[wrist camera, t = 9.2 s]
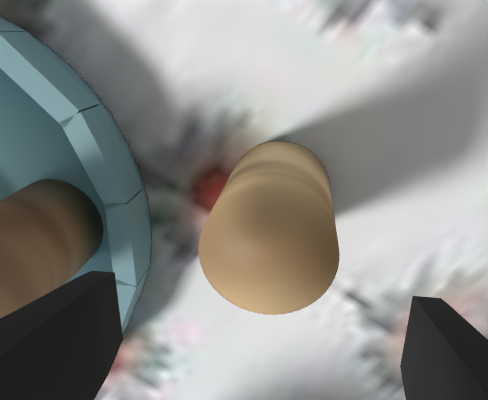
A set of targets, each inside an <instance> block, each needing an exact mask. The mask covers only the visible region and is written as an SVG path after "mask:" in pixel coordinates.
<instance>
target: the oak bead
mask: <svg viewBox="0 0 488 400" xmlns="http://www.w3.org/2000/svg"><path fill="white" fill-rule="evenodd" d="M199 259H200V263H201V267H202V269H203V272H204V274H205V276H206V278H207V279H208V281H209V283H210V284H211V285H212V287H213V288H214V289H215V290H216V291H217V292H218V293H219V294H220V295H221V296H222V297H224V298H225V299H226V300H228V301H229V302H231V303H232V304H234V305H236V306H238V307H240V308H242V309H245V310H248V311H251V312H255V313H260V314H272V315H276V314H285V313H291V312H294V311H297V310H300V309H302V308H305V307H307V306H309V305H310V304H312V303H313V302H315V301H316V300H317V299H319V298H320V297H321V296H322V295H323V294H324V293H325V292H326V291H327V289H328V288H329V287H330V285H331V284H332V282H333V280H334V278H335V275H336V272H337V269H338V264H339V247H338V239H337V232H336V226H335V219H334V212H333V205H332V198H331V191H330V184H329V178H328V175H327V172H326V170H325V168H324V166H323V164H322V163H321V161H320V160H319V159H318V158H317V157H316V156H315V155H314V154H313V153H312V152H310V151H309V150H308V149H306V148H304V147H302V146H300V145H298V144H295V143H291V142H285V141H272V142H267V143H263V144H260V145H258V146H256V147H254V148H252V149H251V150H249V151H248V152H247V153H245V154H244V155H243V156H242V157H241V158H240V160H239V161H238V162H237V164H236V166H235V168H234V169H233V171H232V173H231V175H230V177H229V179H228V181H227V183H226V185H225V186H224V188H223V190H222V192H221V194H220V196H219V198H218V200H217V202H216V203H215V205H214V207H213V209H212V211H211V213H210V215H209V217H208V219H207V220H206V222H205V224H204V226H203V229H202V232H201V235H200V240H199Z"/></svg>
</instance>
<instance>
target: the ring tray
mask: <svg viewBox="0 0 488 400" xmlns="http://www.w3.org/2000/svg"><path fill="white" fill-rule="evenodd" d="M43 179H56V180H61V181H65V182H67V183H70V184H72V185H74V186H76V187H77V188H79V189H80V190H82V191H83V192H84V193H85V194H86V195H87V196H88V197H89V198H90V199H91V200H92V201H93V203H94V204H95V206H96V207H97V209H98V211H99V213H100V215H101V218H102V222H103V239H102V243H101V245H100V247H99V249H98V250H97V252H96V253H95V254H94V255H93V256H92V257H91V258H90V259H89V260H88V261H87V262H86V263H85V264H84V265H83V266H82V268H81V269H80V270H79V271H78V272H77V273H76V274H75V275H74V276H73V277H72V278H71V279H70V280H69V281H71V280H73V279H75V278H77V277H79V276H81V275H83V274H85V273H88V272H90V271H103V272H115V279H116V287H117V295H118V303H119V311H120V319H121V327H122V334H123V332H124V330H125V329H126V327H127V325H128V323H129V320H130V317H131V315H132V312H133V310H134V307H135V305H136V303H137V301H138V299H139V297H140V295H141V293H142V291H143V287H144V284H145V280H146V277H147V274H148V270H149V268H150V267H149V266H150V255H151V248H152V246H151V219H150V212H149V206H148V199H147V195H146V191H145V188H144V184H143V181H142V177H141V174H140V171H139V168H138V166H137V164H136V161H135V159H134V156H133V154H132V152H131V149H130V147H129V145H128V143H127V141H126V139H125V137H124V136H123V134H122V132H121V130H120V129H119V127H118V125H117V123H116V122H115V120H114V118H113V117H112V115H111V114H110V112H109V111H108V110H107V108H106V107H105V106H104V104H103V103H102V101H101V100H100V99H99V97H98V96H97V95H96V93H95V92H94V91H93V90H92V88H91V87H90V86H89V85H88V84H87V83H86V82H85V81H84V80H83V79H82V78H81V76H80V75H79V74H78V73H77V72H76V71H75V70H74V69H73V68H72V67H71V66H70V65H69V64H68V63H67V62H66V61H64V60H63V59H62V58H61V57H60V56H59V55H57V54H56V53H55V52H54V51H53V50H52V49H51V48H49V47H48V46H47V45H46V44H44V43H43V42H41V41H40V40H39V39H37V38H36V37H34V36H33V35H31V34H30V33H28V32H27V31H26V30H24V29H23V28H21V27H20V26H18V25H16V24H14V23H12V22H10V21H8V20H6V19H5V18H3V17H1V16H0V200H2V199H4V198H6V197H8V196H10V195H11V194H13V193H15V192H17V191H19V190H20V189H22V188H24V187H26V186H28V185H29V184H31V183H33V182H35V181H38V180H43ZM69 281H68V282H69Z"/></svg>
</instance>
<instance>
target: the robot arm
mask: <svg viewBox="0 0 488 400" xmlns="http://www.w3.org/2000/svg"><path fill="white" fill-rule="evenodd" d="M122 340H123V335H122V327H121V319H120V311H119V303H118V295H117V287H116V279H115V272H103V271H90V272H88V273H85V274H83V275H81V276H79V277H77V278H75V279H73V280H71V281H69V282H67V283H66V284H64V285H62V286H60V287H58V288H56V289H55V290H53V291H51V292H49V293H47V294H45V295H44V296H42V297H40V298H38V299H36V300H34V301H33V302H31V303H29V304H27V305H25V306H23V307H22V308H20V309H18V310H16V311H14V312H12V313H10V314H8V315H6V316H4V317H2V318H0V400H94V398H95V397H96V395H97V393H98V391H99V390H100V388H101V386H102V385H103V383H104V381H105V379H106V377H107V376H108V373H109V371H110V369H111V367H112V364H113V362H114V360H115V357H116V355H117V352H118V350H119V347H120V345H121V342H122ZM400 367H401V373H402V379H403V385H404V391H405V397H406V400H488V340H487V339H486V338H485V337H484V336H483V335H482V334H481V333H479V332H478V331H477V330H476V329H475V328H474V327H473V326H472V325H471V324H470V323H468V322H467V321H466V320H465V319H464V318H463V317H462V316H461V315H460V314H458V313H457V312H456V311H455V310H454V309H453V308H452V307H451V306H449V305H448V304H447V303H446V302H445V301H443V300H442V299H441V298H431V297H418V296H413V298H412V304H411V310H410V315H409V321H408V326H407V332H406V338H405V343H404V349H403V355H402V360H401V366H400Z"/></svg>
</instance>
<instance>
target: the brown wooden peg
mask: <svg viewBox="0 0 488 400" xmlns="http://www.w3.org/2000/svg"><path fill="white" fill-rule="evenodd" d="M102 239H103V222H102V218H101V215H100V213H99V211H98V209H97V207H96V206H95V204H94V203H93V201H92V200H91V199H90V198H89V197H88V196H87V195H86V194H85V193H84V192H83V191H82V190H80V189H79V188H77V187H76V186H74V185H72V184H70V183H67V182H65V181H61V180H56V179H43V180H38V181H35V182H33V183H31V184H29V185H28V186H26V187H24V188H22V189H20V190H19V191H17V192H15V193H13V194H11V195H10V196H8V197H6V198H4V199H2V200H0V318H2V317H4V316H6V315H8V314H10V313H12V312H14V311H16V310H18V309H20V308H22V307H23V306H25V305H27V304H29V303H31V302H33V301H34V300H36V299H38V298H40V297H42V296H44V295H45V294H47V293H49V292H51V291H53V290H55V289H56V288H58V287H60V286H62V285H64V284H66V283H67V282H68V281H69V280H70V279H71V278H72V277H73V276H74V275H75V274H76V273H77V272H78V271H79V270H80V269H81V268H82V266H83V265H84V264H85V263H86V262H87V261H88V260H89V259H90V258H91V257H92V256H93V255H94V254H95V253H96V252H97V250H98V249H99V247H100V245H101V243H102Z"/></svg>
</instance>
